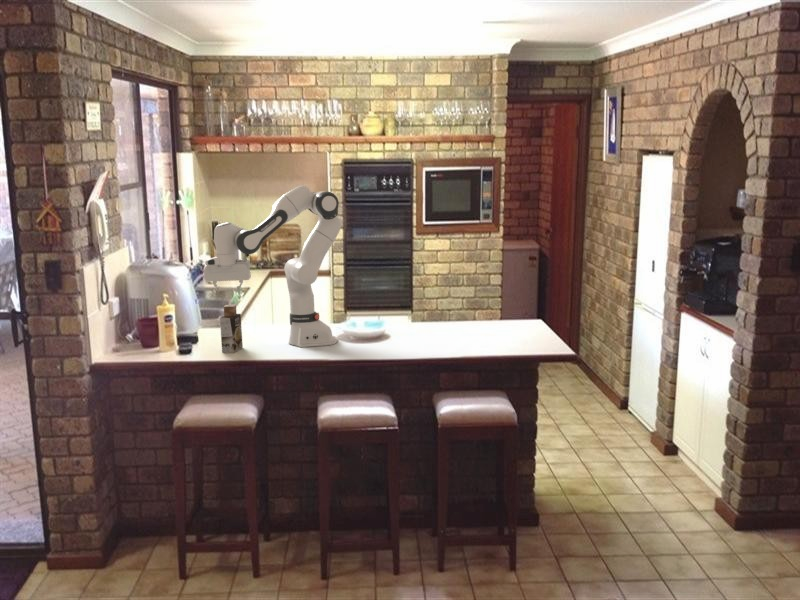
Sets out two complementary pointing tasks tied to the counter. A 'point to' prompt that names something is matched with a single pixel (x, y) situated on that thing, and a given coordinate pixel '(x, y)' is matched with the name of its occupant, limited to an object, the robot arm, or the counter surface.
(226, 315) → the walnut block
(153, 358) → the counter surface
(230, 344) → the coffee box
